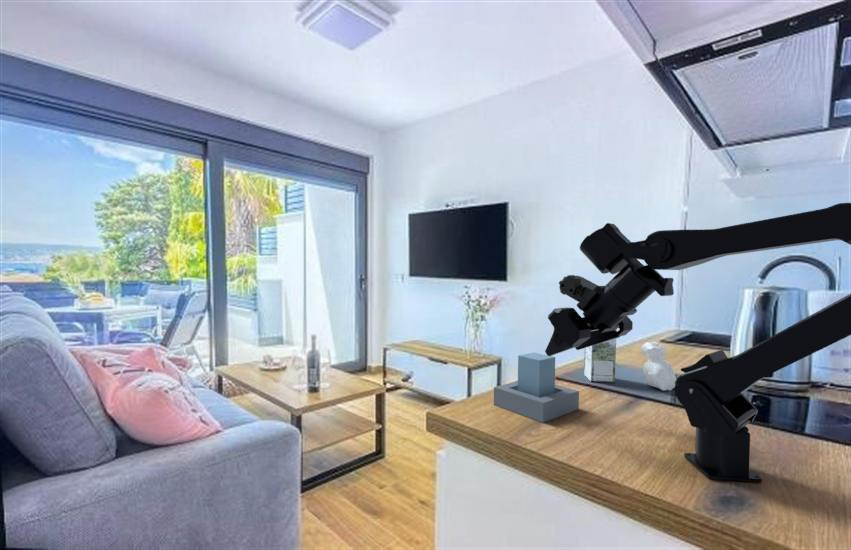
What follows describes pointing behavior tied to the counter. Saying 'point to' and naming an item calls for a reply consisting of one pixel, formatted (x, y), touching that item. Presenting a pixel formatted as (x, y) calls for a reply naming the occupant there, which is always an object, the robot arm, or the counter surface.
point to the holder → (536, 402)
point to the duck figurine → (657, 367)
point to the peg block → (536, 374)
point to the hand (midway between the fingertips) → (562, 350)
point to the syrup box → (600, 361)
